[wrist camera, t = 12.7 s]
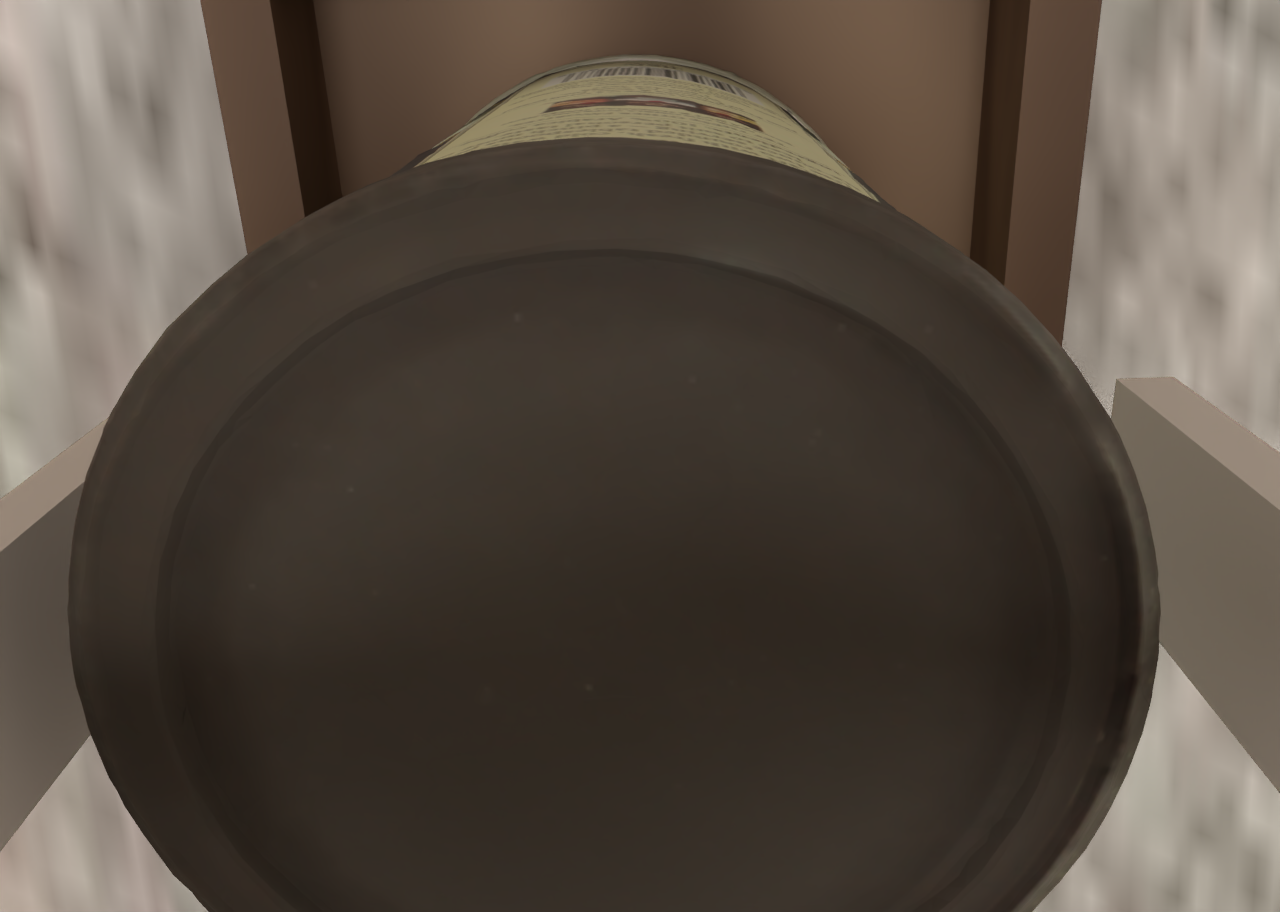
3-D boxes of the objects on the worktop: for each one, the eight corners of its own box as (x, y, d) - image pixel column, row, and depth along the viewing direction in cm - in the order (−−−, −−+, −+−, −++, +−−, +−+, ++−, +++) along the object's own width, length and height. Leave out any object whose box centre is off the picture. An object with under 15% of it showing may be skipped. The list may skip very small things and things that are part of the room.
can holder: (340, 628, 28) (297, 712, 25) (208, -120, 21) (126, -140, 18) (1011, 612, 27) (1057, 695, 24) (1094, -164, 20) (1174, -193, 17)
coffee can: (517, 579, 26) (370, 1167, 13) (314, 166, 22) (-179, 410, 9) (937, 437, 24) (1254, 947, 11) (793, -34, 21) (1020, -83, 8)
